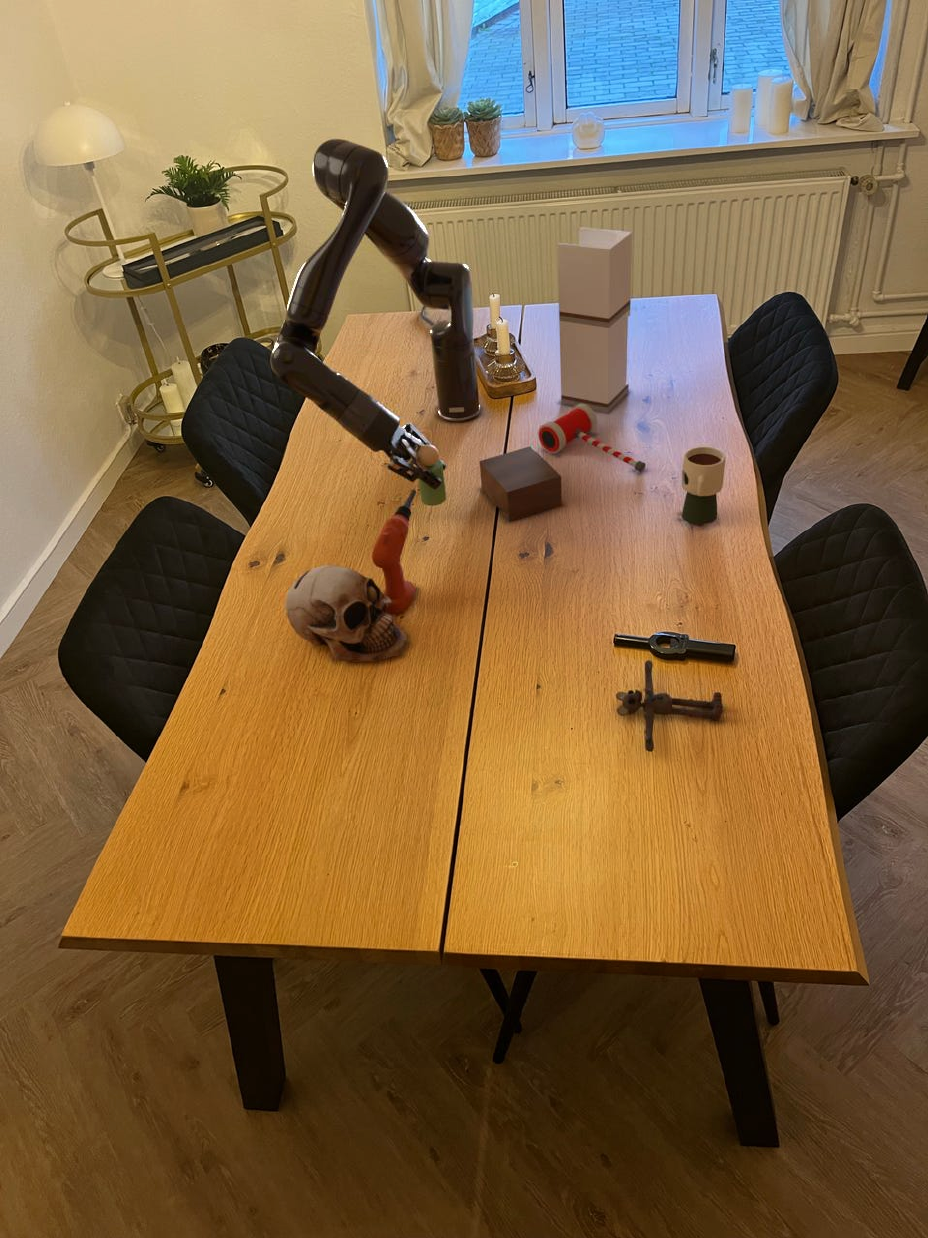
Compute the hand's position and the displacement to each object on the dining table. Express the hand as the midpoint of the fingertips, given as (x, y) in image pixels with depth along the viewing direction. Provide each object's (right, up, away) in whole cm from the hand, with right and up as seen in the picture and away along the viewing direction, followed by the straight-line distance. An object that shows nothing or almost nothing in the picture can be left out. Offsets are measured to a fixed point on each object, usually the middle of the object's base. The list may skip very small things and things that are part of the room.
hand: (440, 477), depth 170 cm
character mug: (+47, -8, -2) cm, 48 cm away
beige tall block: (+34, +24, +37) cm, 56 cm away
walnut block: (+15, -3, +8) cm, 18 cm away
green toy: (-1, -4, +3) cm, 5 cm away
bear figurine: (+33, -40, -38) cm, 65 cm away
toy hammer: (+30, +9, +20) cm, 37 cm away
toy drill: (-6, -20, -9) cm, 23 cm away
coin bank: (-14, -29, -19) cm, 38 cm away
